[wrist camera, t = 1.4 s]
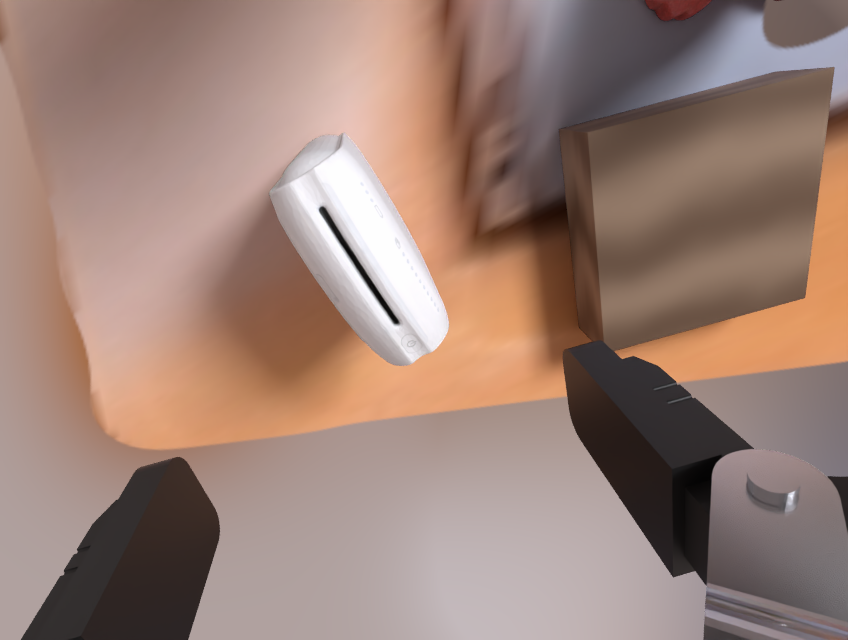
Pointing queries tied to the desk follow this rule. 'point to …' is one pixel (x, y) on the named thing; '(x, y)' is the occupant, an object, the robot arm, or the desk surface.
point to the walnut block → (695, 206)
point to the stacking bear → (677, 8)
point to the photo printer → (360, 249)
